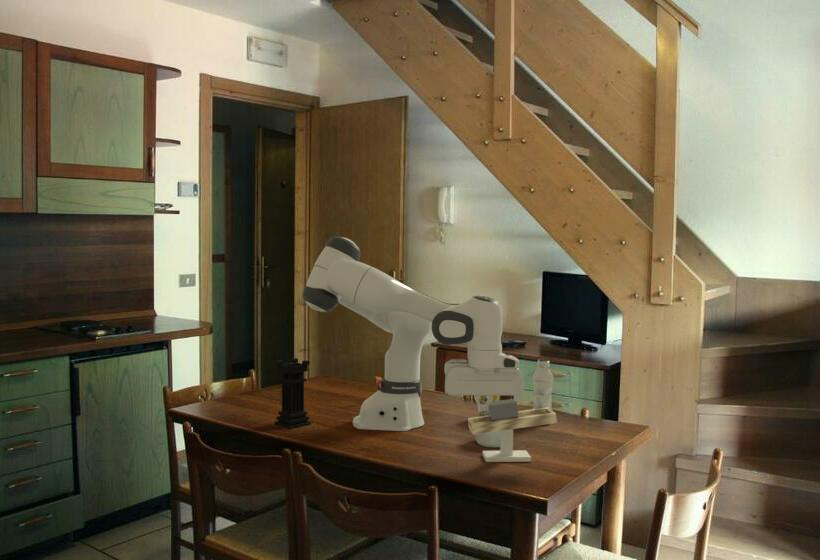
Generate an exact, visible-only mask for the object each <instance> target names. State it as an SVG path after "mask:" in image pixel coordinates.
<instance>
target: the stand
mask: <svg viewBox="0 0 820 560" xmlns="http://www.w3.org/2000/svg"><path fill="white" fill-rule="evenodd" d="M499 448H500V449H499V450H482V457H483V459H484V461H485V462H486V463H501V462H502V463H505V462H507V463H514V462H516V463H518V462H519V463H521V462H527V463H528V462H532V456H531V455H530V453H528V451H527V450H524V449H523V450H520V449H519V450H514V429H509V430H502V431H501V443H500V447H499Z"/></svg>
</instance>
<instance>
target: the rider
mask: <svg viewBox="0 0 820 560" xmlns="http://www.w3.org/2000/svg"><path fill="white" fill-rule="evenodd" d="M518 411H519V410H518V402H517V401H516V400H515V398H508V399H502V400H501V399H500V400H497V401H493V402H491V404H490V405H489V408H488V412H489V421H497V420H504V419H511V418H518Z"/></svg>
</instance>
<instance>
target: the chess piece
mask: <svg viewBox="0 0 820 560" xmlns="http://www.w3.org/2000/svg"><path fill="white" fill-rule="evenodd" d="M310 362H311V361H310V360H301V362H299V358H297V357H292V358H290V362H287V363H285V361H284V360H281V359H279V360H276V366H278V367H277V368H278V372H279V373H280V372H281V378H280V380H279V381H280V382H281V410H279V411H278V416H276V417H275V418H276V421H274V425H276V426H279V427H283V428H285V427H286V428H285V429H288V428H289V430H294V429H298V428H301V427H306V426H309V425H311V426H312V421H310V416H307V415H308V411H306V410H305V382H306V381H307V379H306V378H305V372H308V370H309V369H308V367H309V366H310ZM297 427H298V428H297ZM293 428H294V429H293Z"/></svg>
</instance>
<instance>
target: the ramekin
mask: <svg viewBox="0 0 820 560" xmlns="http://www.w3.org/2000/svg"><path fill="white" fill-rule="evenodd" d="M474 436H475V441H476V443H477V444H478V445H480V446H482V447H487V448H500V443H501V431H495V432H488V433H481V434H474Z"/></svg>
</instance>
